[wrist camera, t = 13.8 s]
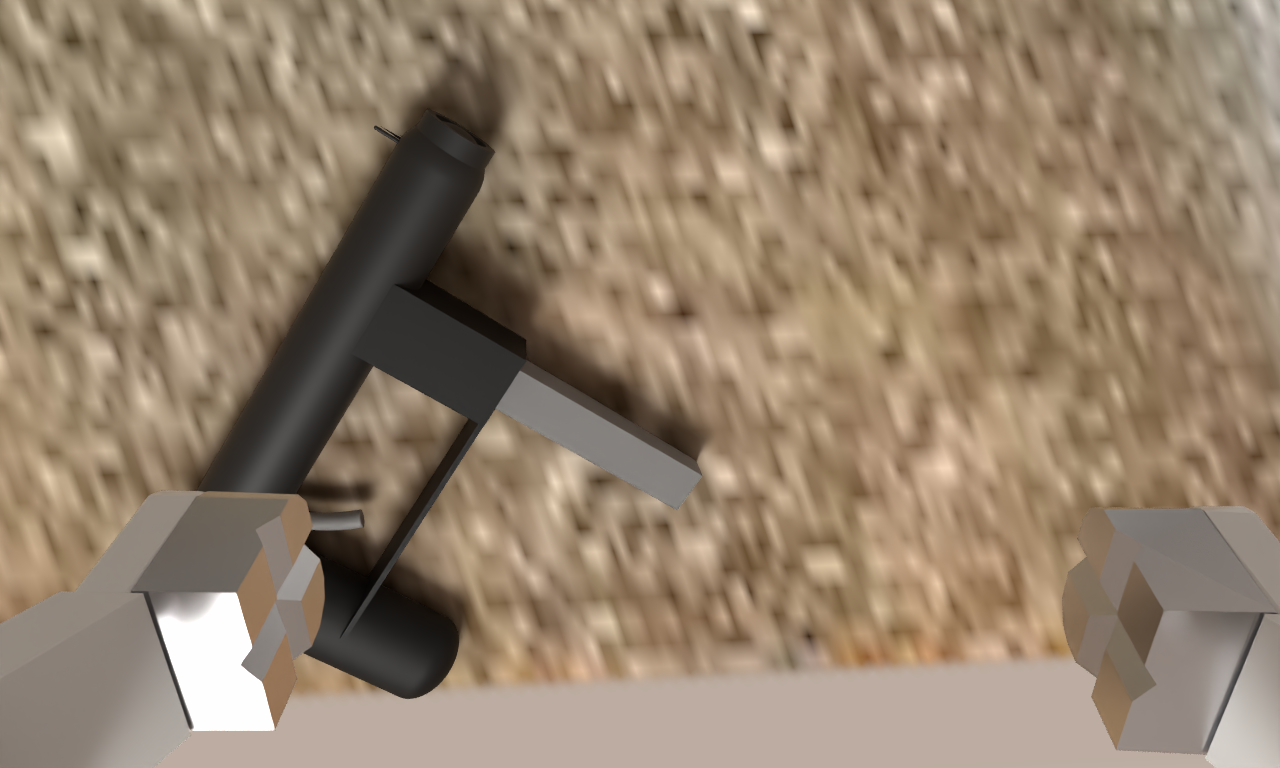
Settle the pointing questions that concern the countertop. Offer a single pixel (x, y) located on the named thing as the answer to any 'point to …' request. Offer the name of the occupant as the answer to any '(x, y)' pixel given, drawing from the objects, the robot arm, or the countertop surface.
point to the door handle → (429, 362)
